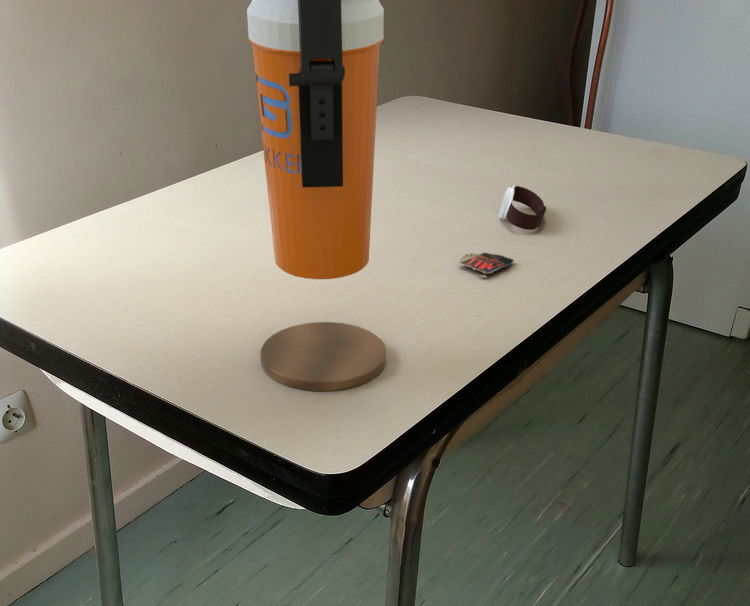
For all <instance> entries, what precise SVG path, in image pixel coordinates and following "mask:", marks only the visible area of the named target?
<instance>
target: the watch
mask: <svg viewBox="0 0 750 606" xmlns="http://www.w3.org/2000/svg"><path fill="white" fill-rule="evenodd" d="M513 202H517V203H520V204H523V205H524V206H527V208H529V209H531V210H532V211H533V212H534V213H535V214H529V213H526V212H523V211H521V210H519V209H517V207H515V206H514V205H513ZM546 211H547V205H545V203H544V201H543V199H542V198H541V197H540V196H539V195H538V194H537V193H535V192H534V191H532V190H530V189H528V188H526V187H523V186H519V185H511V186H508V187H507V189H506V191H505V193H504V195H503V197H502V201H501V204H500V208H499V215H498V216H499V218H500V219H502V220H507V221H508V222H509V223H510V224H511V225H513V226H515V227H517V228H520V229H523V230H527V231H529V230H530V231H532V230H537V229H538V228H539V227H540V225H541V224H542V221H543V219H544V217H545V214H546Z"/></svg>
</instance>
